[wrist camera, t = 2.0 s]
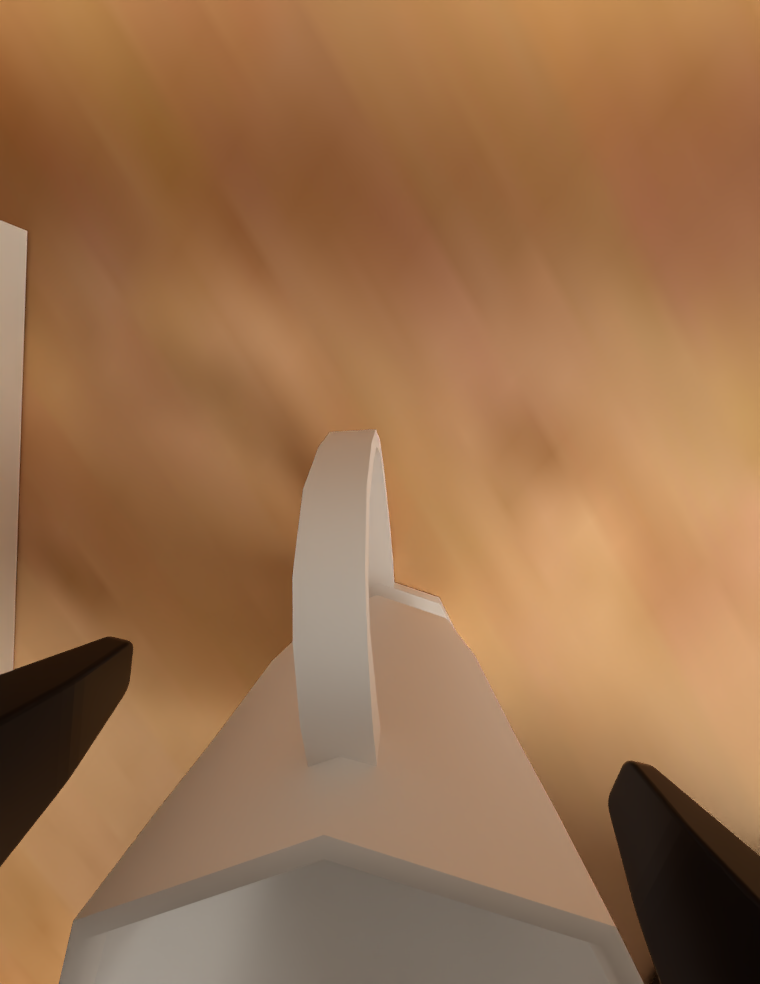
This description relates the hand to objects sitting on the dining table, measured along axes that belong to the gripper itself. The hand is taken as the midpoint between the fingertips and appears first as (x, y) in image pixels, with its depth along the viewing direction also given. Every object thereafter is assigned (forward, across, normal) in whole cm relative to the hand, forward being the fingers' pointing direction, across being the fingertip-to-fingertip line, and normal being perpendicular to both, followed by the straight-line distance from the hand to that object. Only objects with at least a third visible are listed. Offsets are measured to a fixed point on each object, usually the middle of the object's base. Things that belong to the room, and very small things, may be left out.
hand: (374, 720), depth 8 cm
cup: (+4, 0, 0) cm, 5 cm away
